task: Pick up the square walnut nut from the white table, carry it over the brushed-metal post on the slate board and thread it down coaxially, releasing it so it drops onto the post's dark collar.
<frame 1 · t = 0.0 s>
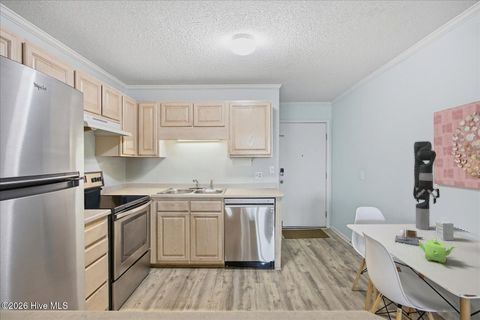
hand: (426, 203, 162), 29 cm above the table, fingers open, 8 cm apart
walnut nut: (411, 237, 179), on the table
supplement box: (444, 239, 174), on the table
post stand: (406, 241, 171), on the table
kettle: (436, 260, 141), on the table
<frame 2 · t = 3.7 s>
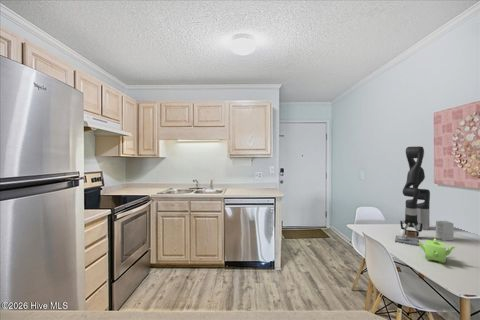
hand: (411, 235, 179), 1 cm above the table, fingers closed on walnut nut, 6 cm apart
walnut nut: (411, 237, 179), on the table, touching gripper
everything else where it was.
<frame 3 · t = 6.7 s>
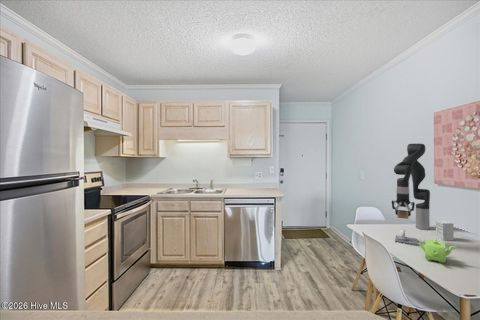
hand: (402, 215, 171), 19 cm above the table, fingers closed on walnut nut, 6 cm apart
walnut nut: (402, 217, 171), point 17 cm above the table, touching gripper
everything else where it was.
when the fingers open (7 cm above the table, at t = 10.0 s): walnut nut drops 3 cm, resting on post stand.
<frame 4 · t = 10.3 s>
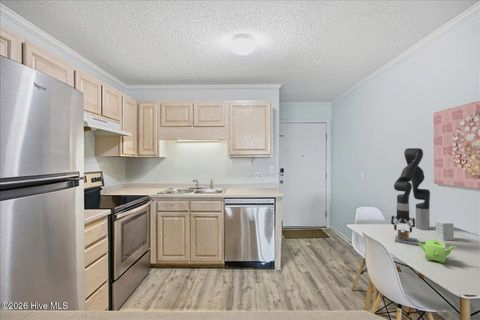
hand: (402, 231, 171), 7 cm above the table, fingers open, 8 cm apart
walnut nut: (403, 237, 171), point 3 cm above the table, touching post stand
everything else where it was.
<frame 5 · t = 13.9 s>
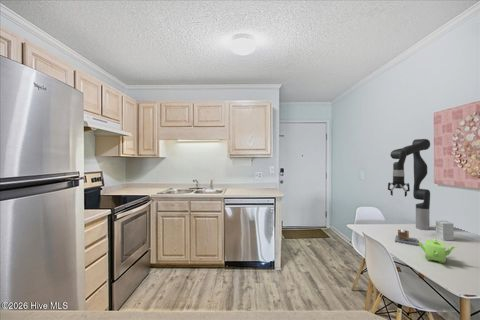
hand: (398, 196, 185), 30 cm above the table, fingers open, 8 cm apart
nothing on the table moved.
at the end: walnut nut 0.2 cm from the target spot on the post stand, point 2.7 cm above the post stand's base; the gripper is holding nothing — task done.
